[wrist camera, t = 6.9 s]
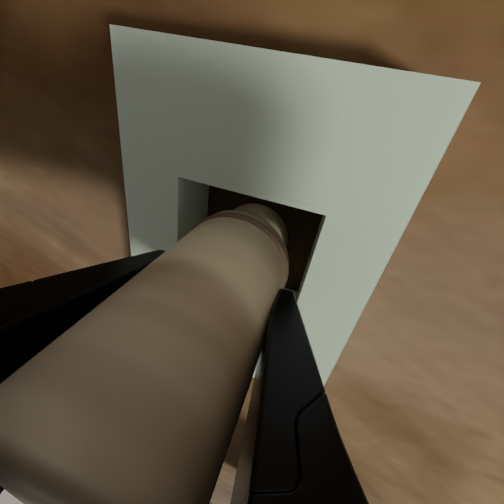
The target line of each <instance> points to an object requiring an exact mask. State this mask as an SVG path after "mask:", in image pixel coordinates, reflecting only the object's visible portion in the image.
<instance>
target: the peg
mask: <svg viewBox="0 0 504 504" xmlns="http://www.w3.org/2000/svg"><path fill="white" fill-rule="evenodd" d="M287 244H288V232H287V228H286V226H285V223H284V222H283V220H282V219H281V217H280V216H279V215H278V214H277V213H276V212H275V211H273V210H272V209H270V208H268V207H266V206H264V205H261V204H254V203H250V204H244V205H241V206H239V207H237V208H235V209H234V210H226V211H221V212H218V213H215V214H213V215H211V216H208V217H206V218H205V219H203V220H202V221H201V222H199V223H198V224H197V225H195V226H194V227H193V229H192V230H191V231H190V232H189V233H188V234H187V235H185V236H184V237H183V238H182V239H180V240H179V241H178V242H177V243H175V244H174V245H173V246H172V247H170V248H169V249H168V250H167V251H165V252H164V253H163V254H162V255H160V256H159V257H158V258H157V259H155V260H154V261H153V262H152V263H150V264H149V265H148V266H147V267H146V268H144V269H143V270H142V271H141V272H139V273H138V274H137V275H136V276H134V277H133V278H132V279H131V280H129V281H128V282H127V283H126V284H124V285H123V286H122V287H121V288H119V289H118V290H117V291H116V292H114V293H113V294H112V295H111V296H109V297H108V298H107V299H106V300H104V301H103V302H102V303H101V304H99V305H98V306H97V307H96V308H94V309H93V310H92V311H91V312H89V313H88V314H87V315H86V316H84V317H83V318H82V319H81V320H79V321H78V322H77V323H76V324H74V325H73V326H72V327H71V328H69V329H68V330H67V331H66V332H64V333H63V334H62V335H61V336H59V337H58V338H57V339H56V340H54V341H53V342H52V343H51V344H49V345H48V346H47V347H46V348H44V349H43V350H42V351H41V352H39V353H38V354H37V355H36V356H34V357H33V358H32V359H31V360H29V361H28V362H27V363H26V364H24V365H23V366H22V367H21V368H19V369H18V370H17V371H16V372H14V373H13V374H12V375H11V376H9V377H8V378H7V379H6V380H4V381H3V382H2V383H1V384H0V486H2V487H3V488H4V489H5V490H7V491H8V492H9V493H10V494H12V495H13V496H14V497H16V498H17V499H18V500H20V501H21V502H22V503H24V504H209V502H210V500H211V497H212V494H213V491H214V488H215V485H216V482H217V479H218V476H219V473H220V470H221V467H222V464H223V462H224V459H225V456H226V453H227V450H228V447H229V444H230V441H231V438H232V435H233V432H234V429H235V426H236V424H237V421H238V418H239V415H240V412H241V409H242V406H243V403H244V400H245V397H246V394H247V391H248V389H249V386H250V383H251V380H252V377H253V374H254V371H255V368H256V365H257V362H258V359H259V356H260V353H261V351H262V348H263V344H264V340H265V335H266V331H267V326H268V322H269V318H270V314H271V311H272V308H273V306H274V303H275V300H276V298H277V295H278V293H279V290H280V289H284V288H285V285H286V282H287V279H288V274H289V255H288V251H287V248H286V247H287Z"/></svg>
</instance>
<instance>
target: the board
mask: <svg viewBox="0 0 504 504" xmlns="http://www.w3.org/2000/svg"><path fill="white" fill-rule="evenodd" d="M109 26H110V37H111V47H112V58H113V68H114V79H115V90H116V100H117V111H118V121H119V132H120V143H121V153H122V164H123V174H124V185H125V196H126V206H127V217H128V227H129V238H130V249H131V256H135V255H139V254H143V253H147V252H151V251H156V250H164V251H167V250H168V249H169V248H170V247H172V246H173V245H174V244H175V243H177V242H178V241H179V240H180V239H182V238H183V237H184V236H185V235H187V234H188V233H189V232H190V231H191V230H192V229H193V227H194V226H195V225H197V224H198V223H199V222H201V221H202V220H203V219H205V218H206V217H207V211H208V198H209V185H211V186H215V187H218V188H222V189H226V190H230V191H234V192H237V193H241V194H245V195H249V196H253V197H257V198H260V199H264V200H268V201H272V202H276V203H279V204H283V205H287V206H291V207H295V208H298V209H302V210H306V211H310V212H314V213H317V214H321V215H323V216H322V219H321V222H320V225H319V228H318V231H317V235H316V238H315V241H314V244H313V247H312V250H311V253H310V256H309V259H308V262H307V265H306V268H305V271H304V275H303V278H302V281H301V284H300V287H299V290H298V292H297V291H294V290H291V289H288V288H284V289H286V290H289V291H292V292H293V293H294V295H295V298H296V301H297V304H298V307H299V310H300V314H301V317H302V320H303V323H304V326H305V329H306V332H307V336H308V339H309V342H310V345H311V348H312V351H313V354H314V358H315V361H316V364H317V367H318V370H319V373H320V376H321V380H322V383H323V386H324V385H325V383H326V381H327V379H328V377H329V375H330V373H331V371H332V369H333V368H334V366H335V364H336V362H337V360H338V358H339V356H340V354H341V352H342V350H343V348H344V346H345V344H346V342H347V340H348V339H349V337H350V335H351V333H352V331H353V329H354V327H355V325H356V323H357V321H358V319H359V317H360V315H361V313H362V311H363V309H364V308H365V306H366V304H367V302H368V300H369V298H370V296H371V294H372V292H373V290H374V288H375V286H376V284H377V282H378V280H379V279H380V277H381V275H382V273H383V271H384V269H385V267H386V265H387V263H388V261H389V259H390V257H391V255H392V253H393V251H394V249H395V248H396V246H397V244H398V242H399V240H400V238H401V236H402V234H403V232H404V230H405V228H406V226H407V224H408V222H409V220H410V219H411V217H412V215H413V213H414V211H415V209H416V207H417V205H418V203H419V201H420V199H421V197H422V195H423V193H424V191H425V189H426V188H427V186H428V184H429V182H430V180H431V178H432V176H433V174H434V172H435V170H436V168H437V166H438V164H439V162H440V160H441V159H442V157H443V155H444V153H445V151H446V149H447V147H448V145H449V143H450V141H451V139H452V137H453V135H454V133H455V131H456V129H457V128H458V126H459V124H460V122H461V120H462V118H463V116H464V114H465V112H466V110H467V108H468V106H469V104H470V102H471V100H472V99H473V97H474V95H475V93H476V91H477V89H478V87H479V85H480V82H474V81H468V80H461V79H455V78H449V77H442V76H436V75H430V74H423V73H417V72H410V71H404V70H398V69H391V68H385V67H379V66H372V65H366V64H360V63H353V62H347V61H340V60H334V59H328V58H321V57H315V56H309V55H302V54H296V53H290V52H283V51H277V50H270V49H264V48H258V47H251V46H245V45H239V44H232V43H226V42H220V41H213V40H207V39H200V38H194V37H188V36H181V35H175V34H169V33H162V32H156V31H150V30H143V29H137V28H130V27H124V26H118V25H111V24H109ZM257 363H258V362H257ZM256 367H257V365H256ZM255 373H256V368H255V371H254V374H253V377H252V378H255Z"/></svg>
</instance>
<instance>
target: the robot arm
mask: <svg viewBox="0 0 504 504" xmlns="http://www.w3.org/2000/svg"><path fill="white" fill-rule="evenodd" d="M164 252H165V251H164V250H156V251H151V252H147V253H143V254H139V255H135V256H131V257H127V258H123V259H119V260H115V261H111V262H106V263H102V264H98V265H94V266H90V267H86V268H82V269H78V270H74V271H70V272H66V273H62V274H57V275H53V276H49V277H45V278H41V279H37V280H34V281H33V282H32V281H28V282H24V283H20V284H16V285H12V286H8V287H4V288H0V384H1V383H2V382H3V381H4V380H6V379H7V378H8V377H9V376H11V375H12V374H13V373H14V372H16V371H17V370H18V369H19V368H21V367H22V366H23V365H24V364H26V363H27V362H28V361H29V360H31V359H32V358H33V357H34V356H36V355H37V354H38V353H39V352H41V351H42V350H43V349H44V348H46V347H47V346H48V345H49V344H51V343H52V342H53V341H54V340H56V339H57V338H58V337H59V336H61V335H62V334H63V333H64V332H66V331H67V330H68V329H69V328H71V327H72V326H73V325H74V324H76V323H77V322H78V321H79V320H81V319H82V318H83V317H84V316H86V315H87V314H88V313H89V312H91V311H92V310H93V309H94V308H96V307H97V306H98V305H99V304H101V303H102V302H103V301H104V300H106V299H107V298H108V297H109V296H111V295H112V294H113V293H114V292H116V291H117V290H118V289H119V288H121V287H122V286H123V285H124V284H126V283H127V282H128V281H129V280H131V279H132V278H133V277H134V276H136V275H137V274H138V273H139V272H141V271H142V270H143V269H144V268H146V267H147V266H148V265H149V264H150V263H152V262H153V261H154V260H155V259H157V258H158V257H159V256H160V255H162V254H163V253H164ZM3 490H4V488H3V487H2V486H0V494H1V492H2V491H3ZM230 504H369V503H368V501H367V498H366V496H365V494H364V491H363V489H362V487H361V484H360V482H359V480H358V478H357V475H356V473H355V471H354V468H353V466H352V463H351V461H350V458H349V456H348V454H347V451H346V449H345V446H344V444H343V441H342V439H341V436H340V433H339V431H338V428H337V425H336V422H335V419H334V416H333V414H332V411H331V407H330V404H329V401H328V398H327V395H326V394H325V389H324V386H323V383H322V380H321V376H320V373H319V370H318V367H317V364H316V361H315V358H314V354H313V351H312V348H311V345H310V342H309V339H308V336H307V332H306V329H305V326H304V323H303V320H302V317H301V314H300V310H299V307H298V304H297V301H296V298H295V295H294V293H293V292H292V291H289V290H286V289H280V290H279V293H278V295H277V298H276V300H275V303H274V306H273V308H272V311H271V314H270V318H269V322H268V326H267V331H266V335H265V340H264V344H263V348H262V351H261V353H260V356H259V359H258V363H257V367H256V373H255V378H254V383H253V388H252V393H251V399H250V404H249V409H248V414H247V419H246V425H245V430H244V435H243V440H242V445H241V451H240V456H239V461H238V466H237V471H236V477H235V482H234V487H233V492H232V497H231V503H230Z"/></svg>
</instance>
